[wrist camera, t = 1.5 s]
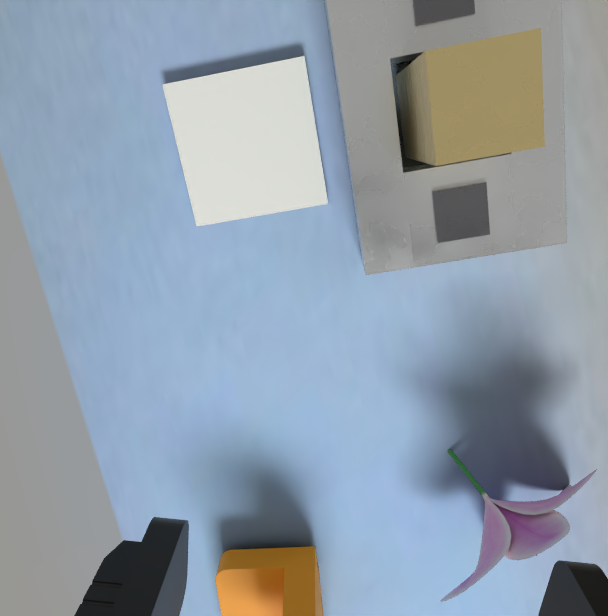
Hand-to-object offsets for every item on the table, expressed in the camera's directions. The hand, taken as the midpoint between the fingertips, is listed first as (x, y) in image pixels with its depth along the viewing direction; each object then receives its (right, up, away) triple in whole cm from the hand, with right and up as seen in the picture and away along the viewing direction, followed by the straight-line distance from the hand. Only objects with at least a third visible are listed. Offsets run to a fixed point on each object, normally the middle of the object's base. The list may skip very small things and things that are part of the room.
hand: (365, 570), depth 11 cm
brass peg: (+6, +17, +18) cm, 25 cm away
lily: (+12, -7, +26) cm, 29 cm away
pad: (-5, +15, +19) cm, 25 cm away
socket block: (+6, +17, +18) cm, 25 cm away
